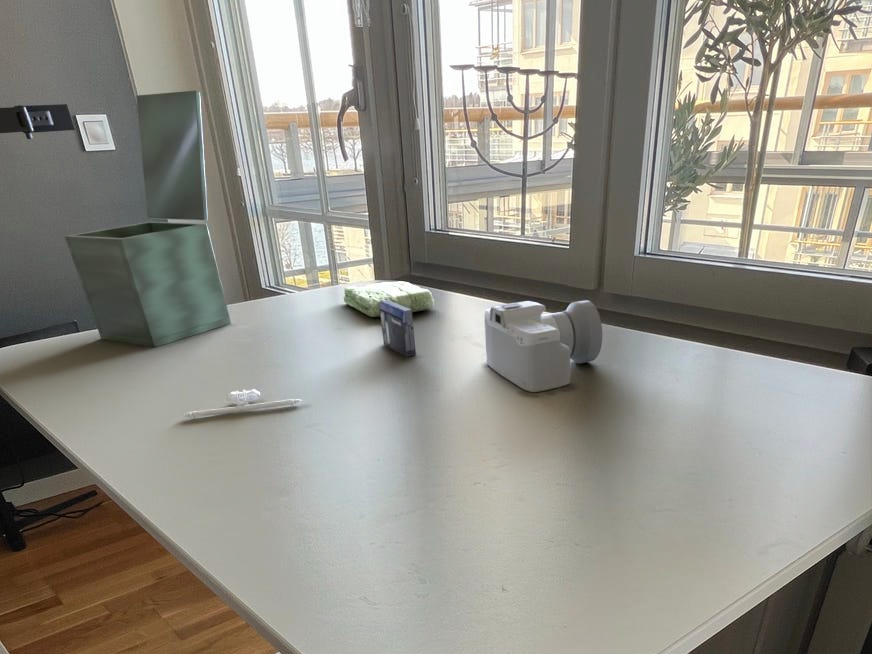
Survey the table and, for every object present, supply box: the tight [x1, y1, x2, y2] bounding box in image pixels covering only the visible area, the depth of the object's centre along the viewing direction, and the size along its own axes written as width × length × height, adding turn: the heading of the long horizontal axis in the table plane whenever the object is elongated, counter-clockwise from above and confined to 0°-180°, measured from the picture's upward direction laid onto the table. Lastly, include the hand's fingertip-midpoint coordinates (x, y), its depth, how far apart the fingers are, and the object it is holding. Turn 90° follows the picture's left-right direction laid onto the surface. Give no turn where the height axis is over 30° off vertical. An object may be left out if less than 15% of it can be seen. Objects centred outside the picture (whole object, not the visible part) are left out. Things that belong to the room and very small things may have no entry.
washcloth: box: [343, 281, 435, 318], centre depth 125 cm, size 13×18×3 cm
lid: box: [135, 90, 209, 222], centre depth 111 cm, size 17×14×1 cm
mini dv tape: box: [379, 300, 417, 357], centre depth 101 cm, size 8×2×6 cm, turn 30°
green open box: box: [64, 221, 232, 348], centre depth 114 cm, size 16×14×15 cm
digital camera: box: [483, 299, 603, 393], centre depth 89 cm, size 17×14×10 cm
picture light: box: [183, 388, 303, 419], centre depth 85 cm, size 14×4×2 cm, turn 104°
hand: (39, 118), depth 94 cm, fingers open, 13 cm apart
